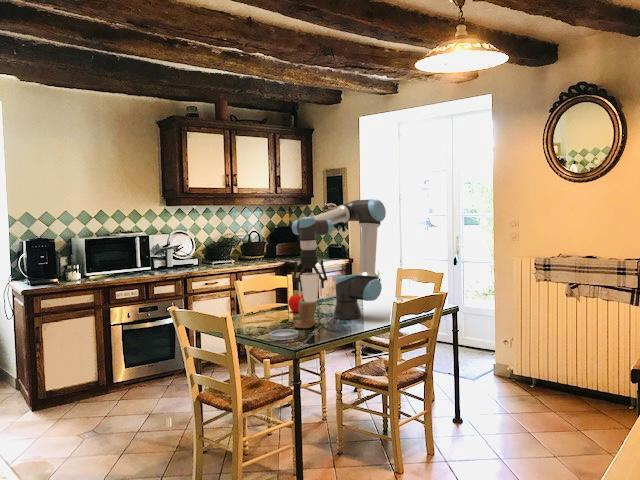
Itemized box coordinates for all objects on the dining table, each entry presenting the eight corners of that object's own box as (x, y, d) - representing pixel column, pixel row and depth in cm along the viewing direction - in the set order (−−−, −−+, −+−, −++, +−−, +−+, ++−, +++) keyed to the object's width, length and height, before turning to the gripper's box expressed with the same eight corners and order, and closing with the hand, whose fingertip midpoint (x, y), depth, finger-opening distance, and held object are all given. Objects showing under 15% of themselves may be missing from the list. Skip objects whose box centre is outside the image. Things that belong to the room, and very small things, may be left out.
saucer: (298, 332, 282) (298, 328, 282) (297, 339, 268) (297, 335, 268) (270, 333, 282) (270, 329, 282) (268, 340, 268) (267, 336, 268)
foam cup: (318, 302, 268) (317, 275, 267) (299, 302, 270) (297, 275, 269) (322, 299, 277) (320, 272, 276) (303, 299, 279) (302, 272, 278)
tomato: (308, 309, 339) (307, 292, 339) (305, 313, 329) (305, 295, 328) (290, 310, 340) (289, 292, 340) (287, 313, 330) (287, 295, 329)
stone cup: (314, 330, 286) (312, 300, 285) (291, 329, 289) (290, 300, 288) (322, 323, 300) (320, 295, 299) (300, 323, 304) (299, 295, 303)
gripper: (285, 250, 268) (287, 297, 270) (331, 248, 268) (333, 295, 270) (285, 249, 275) (287, 295, 277) (331, 247, 276) (333, 293, 277)
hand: (310, 295), depth 273 cm, fingers closed on foam cup, 9 cm apart
